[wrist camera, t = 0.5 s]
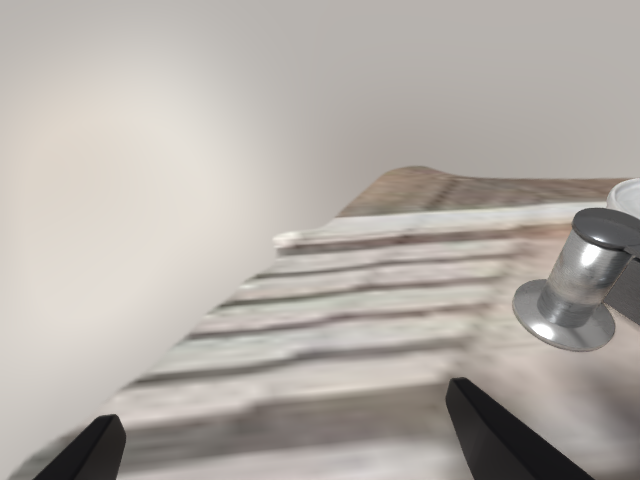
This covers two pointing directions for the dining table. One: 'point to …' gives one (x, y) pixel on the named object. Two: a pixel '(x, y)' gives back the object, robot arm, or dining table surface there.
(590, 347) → the post
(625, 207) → the ramekin
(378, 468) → the dining table surface
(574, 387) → the dining table surface
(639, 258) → the bar
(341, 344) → the dining table surface
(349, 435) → the dining table surface
